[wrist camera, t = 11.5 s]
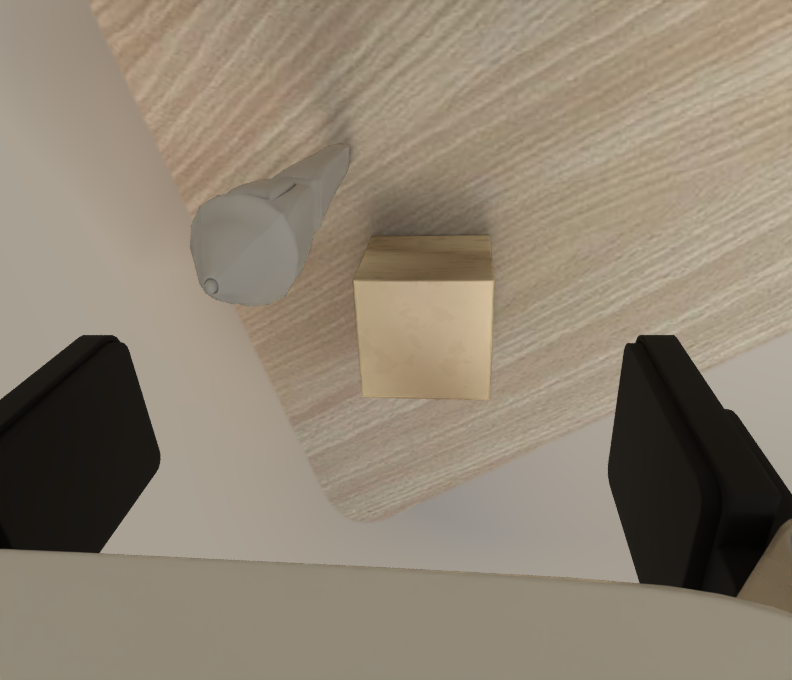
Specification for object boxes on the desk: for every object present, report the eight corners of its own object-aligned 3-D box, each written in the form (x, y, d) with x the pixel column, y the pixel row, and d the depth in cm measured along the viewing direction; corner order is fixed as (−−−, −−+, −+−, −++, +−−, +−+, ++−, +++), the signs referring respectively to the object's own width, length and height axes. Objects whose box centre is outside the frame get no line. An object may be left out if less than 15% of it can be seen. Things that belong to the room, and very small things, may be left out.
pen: (310, 184, 24) (154, 344, 12) (309, 115, 23) (134, 217, 11) (370, 189, 24) (273, 355, 12) (372, 120, 23) (266, 228, 11)
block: (378, 339, 28) (361, 398, 23) (371, 235, 25) (351, 279, 21) (485, 340, 27) (490, 400, 23) (489, 234, 25) (495, 279, 20)
